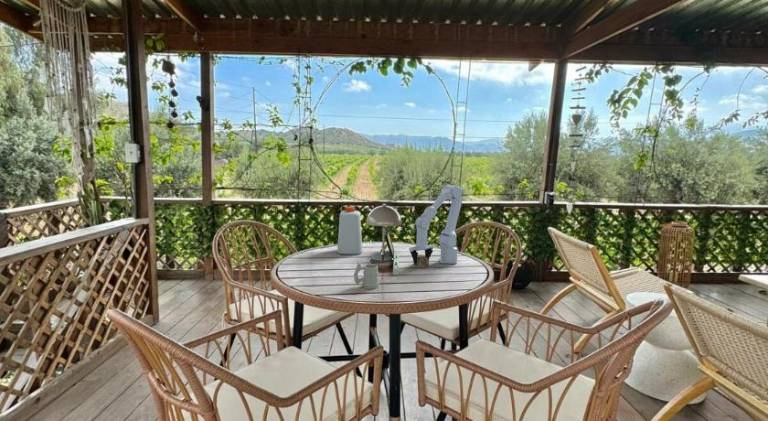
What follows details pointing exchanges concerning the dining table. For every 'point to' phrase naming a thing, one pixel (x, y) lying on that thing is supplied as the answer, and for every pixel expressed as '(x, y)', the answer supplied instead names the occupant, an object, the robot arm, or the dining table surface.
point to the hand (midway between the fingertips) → (421, 262)
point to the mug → (367, 276)
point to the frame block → (422, 261)
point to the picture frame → (388, 243)
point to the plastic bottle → (349, 232)
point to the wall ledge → (395, 264)
